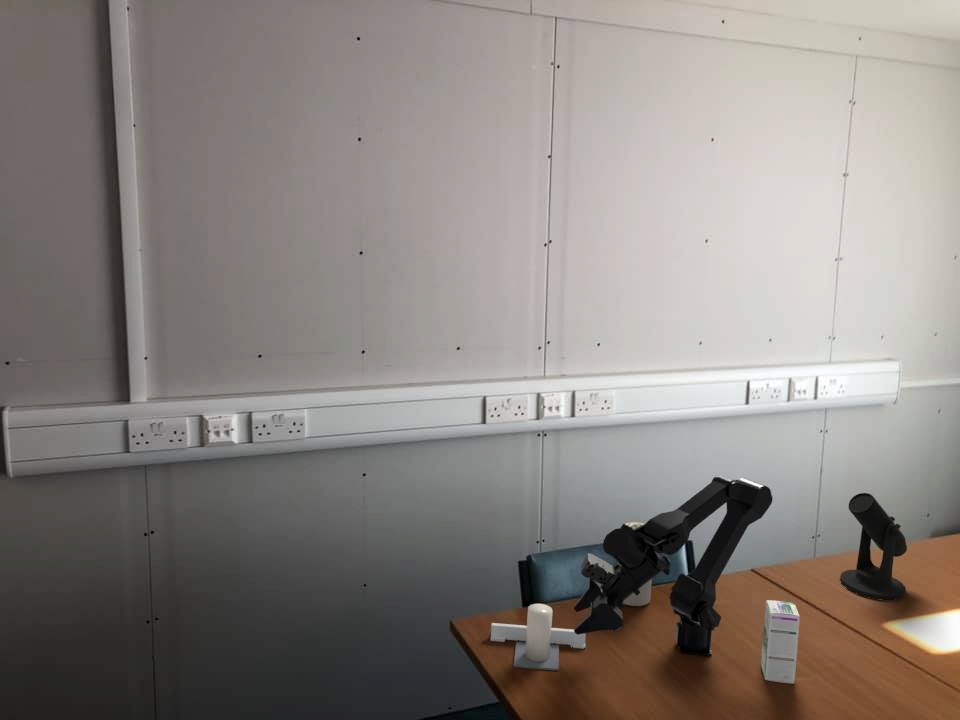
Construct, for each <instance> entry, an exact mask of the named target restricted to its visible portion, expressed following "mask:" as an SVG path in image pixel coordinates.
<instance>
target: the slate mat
mask: <svg viewBox="0 0 960 720" xmlns="http://www.w3.org/2000/svg"><path fill="white" fill-rule="evenodd" d="M525 647H526V641H516V643H515V648H514V649H515V651H514V657H513V659H514V660H513V668H521V669H533V670H546V671H559V669H560V663H559V662H560V644H550V655H549V658H548V659H547V660H545V661H541V662H537V661H532V660H530V659H528V658H527V657H526V656H525Z"/></svg>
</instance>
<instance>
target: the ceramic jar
mask: <svg viewBox="0 0 960 720" xmlns="http://www.w3.org/2000/svg"><path fill="white" fill-rule="evenodd" d="M526 619H527V620H526V626H527V631H526V641H525V642H526V647H525V656H526V657H527V658H528V659H530V660H532V661H537V662H541V661H545V660H547V659H548V658H549V655H550V645H551V643H550V641H551V628H552V624H553V608H552V607H551V606H549V605H548V604H544V603H533V604H530V605H529V606H528V608H527V618H526Z"/></svg>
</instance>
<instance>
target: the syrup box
mask: <svg viewBox="0 0 960 720" xmlns="http://www.w3.org/2000/svg"><path fill="white" fill-rule="evenodd" d="M799 630H800V614H799V612H798V608H797V606H796V603H794V602H789V601H786V600H785V601H784V600H770V599H769V600H768V599H766V600H765V610H764V621H763V634H762V646H761V655H760V656H761V657H760V667H761V670H762V673H763V678H764V680H766V681H770V682H776V683H783V684H793V685H794V684H795V679H796V678H795V676H796V667H797V666H796V665H797V656H798V647H799V646H798V644H799Z"/></svg>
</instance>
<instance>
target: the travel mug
mask: <svg viewBox="0 0 960 720" xmlns="http://www.w3.org/2000/svg"><path fill="white" fill-rule="evenodd" d="M625 524H626V525H628V526H630V527H631V528H632V529H633V530H634V529H636V528H638V527H640V526H642V525H644V524H645V523H643V522H636V521H635V522H626V523H625ZM648 549H650V548H648ZM652 579H653V578H652ZM652 579H651V580H650V581H648V582H647V583H646V584H645V585H643V586H642V587H641V588H640V592H641V593H640V594H638V595H637V596H636V595H635V593H633V594H632V595H631V596H630V597H628V598H627V599H626V600H625V601H624V604H625V605H626V606H630V607H642V606H647V604H649V603H650V602H651V592H652V591H651V590H652V581H653V580H652Z"/></svg>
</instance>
